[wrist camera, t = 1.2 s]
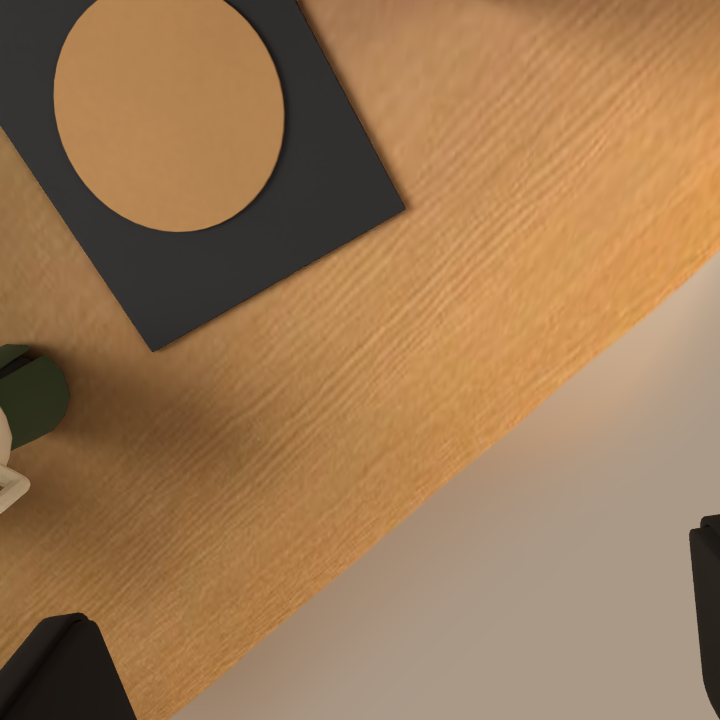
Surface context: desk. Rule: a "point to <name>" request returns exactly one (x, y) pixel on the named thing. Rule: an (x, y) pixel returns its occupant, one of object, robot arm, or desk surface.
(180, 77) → the desk mat
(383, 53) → the desk surface
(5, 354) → the character mug
